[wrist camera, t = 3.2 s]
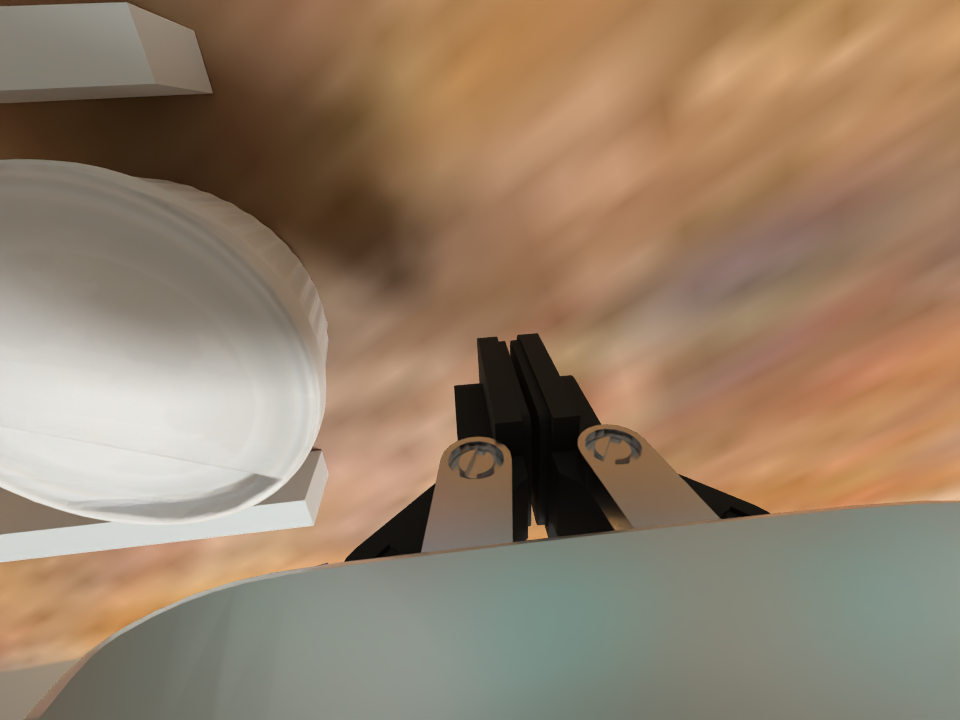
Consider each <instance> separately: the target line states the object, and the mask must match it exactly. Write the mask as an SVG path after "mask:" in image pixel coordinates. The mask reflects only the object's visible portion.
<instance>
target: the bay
mask: <svg viewBox="0 0 960 720" xmlns="http://www.w3.org/2000/svg"><path fill="white" fill-rule="evenodd" d="M210 93H213V91H212V88H211V85H210V82H209V78H208V75H207V72H206V68H205V65H204V62H203V59H202V55H201V52H200V49H199V45H198V42H197V39H196V36H195V32H194V30H191V29H189V28H187V27H184V26H182V25H180V24H177V23H175V22H172V21H170V20H168V19H165V18H163V17H161V16H158V15H156V14H154V13H151V12H149V11H146V10H144V9H142V8H139V7H137V6H135V5H132V4H130V3H128V2H116V3H85V4H54V5H23V6H0V103H19V102H40V101H62V100H83V99H104V98H125V97H147V96H168V95H189V94H210ZM328 476H329V473H328V469H327V466H326V463H325V460H324V456H323V453H322V450H319V451H310V453H309V454H308V456H307V458H306V460H305V461H304V463H303V464H302V465H301V467H300V468H299V470H298V471H297V472H296V473H295V474H294V475H293V476H292V477H291V478H290V479H289V481H288V482H287V483H286V484H284V485H283V486H282V487H281V488H280V489H279V490H278V491H276V492H275V493H274V494H272V495H271V496H269V497H268V498H266V499H265V500H263V501H261V502H260V503H258V504H256V505H254V506H252V507H249V508H247V509H244V510H242V511H239V512H237V513H234V514H231V515H228V516H224V517H221V518H217V519H213V520H208V521H203V522H198V523H191V524H180V525H139V524H126V523H117V522H111V521H104V520H98V519H94V518H89V517H84V516H80V515H76V514H72V513H68V512H65V511H62V510H58V509H55V508H52V507H49V506H46V505H43V504H40V503H36V502H33V501H31V500H29V499H27V498H25V497H22V496H20V495H17V494H15V493H12V492H10V491H8V490H6V489H3V488H1V487H0V562H7V561H16V560H24V559H33V558H42V557H50V556H59V555H67V554H76V553H84V552H93V551H101V550H110V549H118V548H127V547H135V546H144V545H152V544H161V543H169V542H178V541H186V540H195V539H203V538H212V537H221V536H229V535H238V534H246V533H255V532H263V531H272V530H280V529H289V528H297V527H306V526H314V523H315V520H316V516H317V513H318V509H319V506H320V503H321V499H322V496H323V493H324V489H325V486H326V482H327V479H328Z"/></svg>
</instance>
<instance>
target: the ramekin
mask: <svg viewBox="0 0 960 720" xmlns="http://www.w3.org/2000/svg"><path fill="white" fill-rule="evenodd" d="M327 349H328V336H327V320H326V318H325V316H324V308H323V305H322V303H321V301H320V299H319V296H318V292H317V289H316V287H315V285H314V284H313V282H312V280H311V278H310V275H309V273H308V272H307V270H306V269H305V268H304V267H303V265H302V263H301V262H300V260H299V258H298V257H297V256H296V255H295V254H294V253H293V252H292V251H291V250H290V248H289V247H288V246H287V244H286V243H285V242H284V241H282V240H281V239H280V238H279V237H277V236H276V234H275V233H274V232H273V231H272V230H271V229H270V228H268V227H267V226H265V225H263V224H262V223H261V222H260V221H258V220H257V219H256V218H255V217H254V216H252V215H251V214H248V213H246V212H244V211H242V210H241V209H239V208H238V207H237V206H235V205H234V204H232V203H230V202H227V201H224V200H222V199H220V198H218V197H216V196H214V195H213V194H210V193H207V192H203V191H200V190H198V189H196V188H194V187H192V186H188V185H184V184H178V183H175V182H172V181H168V180H159V179H150V178H141V177H132V176H129V175H126V174H123V173H120V172H116V171H113V170H109V169H106V168H101V167H97V166H92V165H87V164H81V163H76V162H66V161H54V160H39V159H7V160H0V487H1V488H3V489H6V490H8V491H10V492H12V493H15V494H17V495H20V496H22V497H25V498H27V499H29V500H31V501H33V502H36V503H40V504H43V505H46V506H49V507H52V508H55V509H58V510H62V511H65V512H68V513H72V514H76V515H80V516H84V517H89V518H94V519H98V520H104V521H111V522H117V523H126V524H139V525H180V524H191V523H198V522H203V521H208V520H213V519H217V518H221V517H224V516H228V515H231V514H234V513H237V512H239V511H242V510H244V509H247V508H249V507H252V506H254V505H256V504H258V503H260V502H261V501H263V500H265V499H266V498H268V497H269V496H271V495H272V494H274V493H275V492H276V491H278V490H279V489H280V488H281V487H282V486H283V485H284V484H286V483H287V482H288V481H289V479H290V478H291V477H292V476H293V475H294V474H295V473H296V472H297V471H298V470H299V468H300V467H301V465H302V464H303V463H304V461H305V460H306V458H307V456H308V454H309V453H310V451H311V449H312V447H313V444H314V442H315V440H316V438H317V435H318V433H319V430H320V426H321V423H322V419H323V416H324V410H325V403H326V374H325V366H326V355H327Z"/></svg>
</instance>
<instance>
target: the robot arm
mask: <svg viewBox="0 0 960 720" xmlns="http://www.w3.org/2000/svg"><path fill="white" fill-rule="evenodd" d="M477 347H478V364H479V381H480V383H479V384H468V385H457V386H454V391H455V406H456V421H457V436H458V441H457V442H455V443H454V444H452V445H450V446H449V447H448V448H447V449H446V450H445V451H444V453H443V455H442V458H441V461H440V465H439V470H438V475H437V480H436V483H435V484H434V485H433V486H431V487H430V488H429V489H428V490H427V491H425V492H424V493H423V494H422V495H420V496H419V497H418V498H417V499H416V500H414V501H413V502H412V503H411V504H409V505H408V506H407V507H406V508H405V509H403V510H402V511H401V512H400V513H398V514H397V515H396V516H395V517H394V518H392V519H391V520H390V521H389V522H387V523H386V524H385V525H384V526H383V527H381V528H380V529H379V530H378V531H376V532H375V533H374V534H373V535H372V536H370V537H369V538H368V539H367V540H365V541H364V542H363V543H362V544H361V545H359V546H358V547H357V548H356V549H355V550H354V551H353V552H352V553H351V554H350V555H349V556H348V557H347V558H346V560H345V561H344V562H340V563H334V564H328V563H325V564H322V565H318V566H314V567H308V568H301V569H295V570H288V571H282V572H275V573H269V574H265V575H261V576H256V577H252V578H248V579H243V580H239V581H235V582H231V583H228V584H225V585H222V586H219V587H216V588H213V589H209V590H206V591H203V592H200V593H197V594H194V595H192V596H189V597H187V598H185V599H182V600H180V601H178V602H175V603H173V604H171V605H168V606H166V607H164V608H161V609H159V610H157V611H154V612H152V613H150V614H148V615H146V616H145V617H143V618H141V619H139V620H137V621H135V622H133V623H131V624H129V625H128V626H126V627H124V628H123V629H121V630H119V631H118V632H116V633H114V634H112V635H111V636H109V637H108V638H107V639H105V640H104V641H102V642H101V643H100V644H98V645H97V646H96V647H94V648H93V649H92V650H90V651H89V652H88V653H87V654H85V655H84V656H83V657H82V658H81V659H80V660H79V661H78V662H77V663H76V664H75V665H74V666H73V667H71V668H70V669H69V670H68V671H67V672H66V673H65V674H64V675H63V676H62V677H61V679H60V680H59V681H58V682H57V683H56V684H55V685H54V686H53V687H52V688H51V689H50V690H49V691H48V692H47V693H46V694H45V695H44V696H43V698H42V699H41V700H40V701H39V702H38V703H37V704H36V705H35V707H34V708H33V709H32V710H31V711H30V712H29V713H28V715H27V716H26V717H25V718H24V719H23V720H960V501H912V502H898V503H884V504H869V505H854V506H844V507H835V508H825V509H815V510H805V511H794V512H785V513H775V514H770V513H769V512H767V511H765V510H763V509H761V508H759V507H757V506H755V505H753V504H751V503H748V502H746V501H743V500H741V499H738V498H736V497H734V496H731V495H729V494H726V493H724V492H721V491H719V490H716V489H714V488H711V487H709V486H707V485H704V484H702V483H699V482H697V481H694V480H692V479H689V478H687V477H684V476H682V475H680V474H677V473H676V471H675V470H674V469H673V468H672V467H671V466H670V465H669V464H668V463H667V462H666V461H665V460H664V459H663V458H662V457H661V456H660V455H659V454H658V453H657V452H656V450H655V449H654V448H653V447H652V446H651V445H650V444H649V443H648V442H647V441H646V440H645V439H644V438H643V437H641V436H640V435H639V434H638V433H636V432H634V431H632V430H630V429H628V428H625V427H621V426H618V425H608V424H605V425H601V423H600V421H599V420H598V418H597V416H596V415H595V413H594V411H593V409H592V408H591V406H590V404H589V402H588V401H587V399H586V397H585V396H584V394H583V392H582V390H581V389H580V387H579V385H578V383H577V382H576V380H575V378H574V377H573V376H571V375H569V376H560V375H559V373H558V371H557V369H556V367H555V365H554V364H553V362H552V360H551V358H550V356H549V354H548V352H547V350H546V348H545V346H544V344H543V342H542V341H541V339H540V337H539V335H538V334H537V333H535V334H523V335H518V336H517V340H513V341H510V354H509V351H508V349H507V346H506V343H505V341H501V342H498V338H497V337H487V338H477ZM531 505H532V508H533V512H534V516H535V520H536V523H537V525H545V528H546V531H547V535H548V538H544V539H535V540H527V538H528V526H531Z"/></svg>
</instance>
